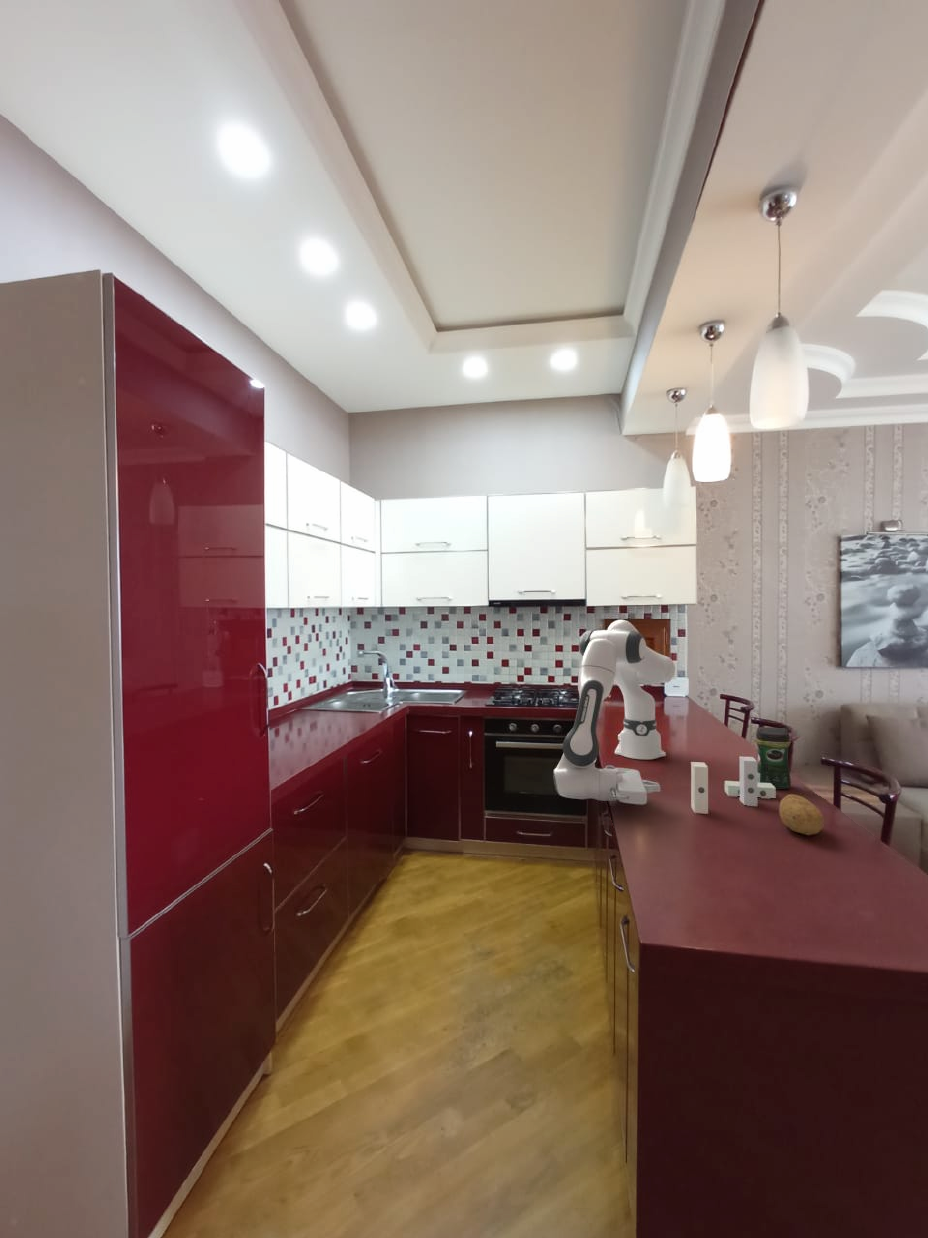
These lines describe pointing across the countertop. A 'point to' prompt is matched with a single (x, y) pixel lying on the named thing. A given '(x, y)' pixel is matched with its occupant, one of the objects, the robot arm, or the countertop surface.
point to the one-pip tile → (699, 787)
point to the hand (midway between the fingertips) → (659, 787)
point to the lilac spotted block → (748, 781)
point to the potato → (800, 815)
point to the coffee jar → (773, 757)
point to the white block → (762, 789)
